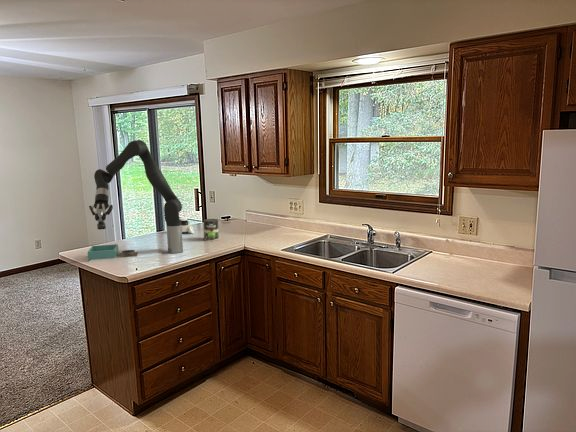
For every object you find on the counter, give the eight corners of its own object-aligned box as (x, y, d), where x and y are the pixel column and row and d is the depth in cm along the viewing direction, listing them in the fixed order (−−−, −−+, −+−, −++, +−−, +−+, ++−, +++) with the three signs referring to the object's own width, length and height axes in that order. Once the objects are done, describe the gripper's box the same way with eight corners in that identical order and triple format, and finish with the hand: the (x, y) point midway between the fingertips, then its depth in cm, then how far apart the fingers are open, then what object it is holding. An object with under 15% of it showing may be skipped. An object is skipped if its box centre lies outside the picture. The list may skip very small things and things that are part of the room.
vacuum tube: (106, 227, 260) (104, 208, 258) (105, 229, 256) (103, 209, 253) (98, 228, 259) (96, 208, 257) (96, 229, 254) (95, 209, 252)
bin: (118, 253, 269) (118, 244, 268) (115, 259, 255) (114, 250, 254) (93, 255, 266) (92, 245, 264) (88, 261, 251) (87, 251, 250)
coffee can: (219, 240, 301) (218, 220, 299) (204, 241, 299) (203, 221, 297) (218, 237, 311) (217, 218, 309) (204, 238, 309) (203, 219, 307)
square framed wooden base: (138, 253, 268) (138, 248, 268) (136, 258, 258) (136, 253, 257) (119, 255, 266) (119, 250, 265) (117, 259, 255) (117, 254, 255)
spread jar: (177, 232, 330) (176, 217, 328) (192, 231, 334) (191, 216, 332) (179, 235, 319) (178, 220, 317) (195, 234, 323) (194, 218, 321)
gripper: (88, 193, 259) (86, 216, 249) (113, 192, 262) (112, 215, 253) (90, 201, 265) (88, 224, 255) (115, 200, 268) (113, 222, 259)
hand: (100, 219), depth 254 cm, fingers closed on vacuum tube, 3 cm apart
